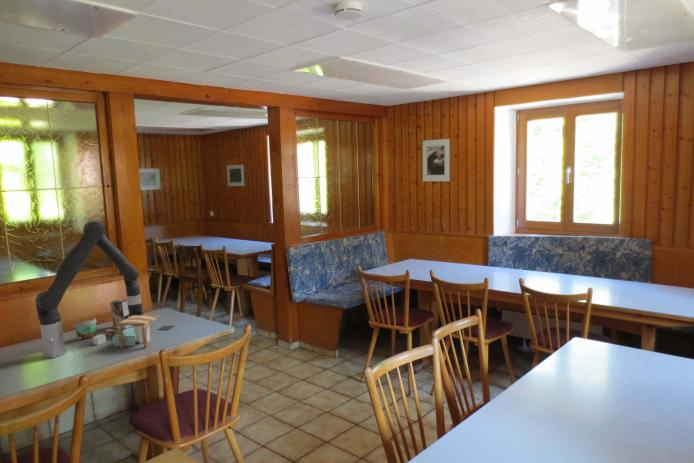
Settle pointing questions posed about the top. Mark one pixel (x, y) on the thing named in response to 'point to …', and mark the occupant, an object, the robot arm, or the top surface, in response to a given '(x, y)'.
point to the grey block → (99, 339)
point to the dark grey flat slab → (165, 328)
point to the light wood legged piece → (136, 320)
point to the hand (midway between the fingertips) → (138, 331)
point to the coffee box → (119, 312)
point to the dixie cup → (139, 332)
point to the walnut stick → (111, 332)
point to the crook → (126, 337)
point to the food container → (86, 329)
